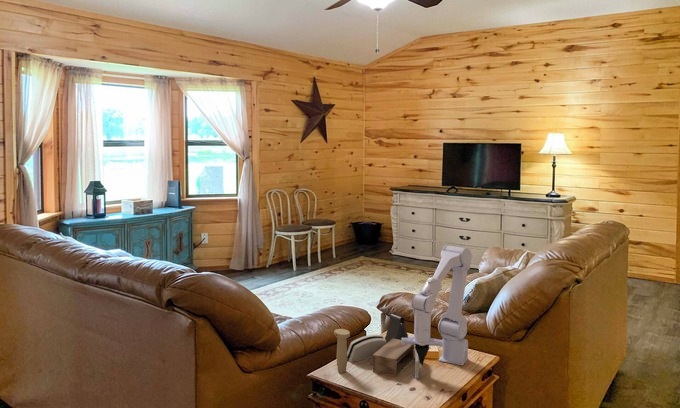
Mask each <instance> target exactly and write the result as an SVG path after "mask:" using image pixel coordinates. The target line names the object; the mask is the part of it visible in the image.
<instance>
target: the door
mask: <svg viewBox="0 0 680 408" xmlns="http://www.w3.org/2000/svg"><path fill="white" fill-rule="evenodd" d="M419 368H422V365H421V363H420V362H419V357H418V354H417V352H416V350H415V349H414V377H415V378H414V379H419Z"/></svg>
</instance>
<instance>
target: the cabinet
mask: <svg viewBox="0 0 680 408" xmlns="http://www.w3.org/2000/svg"><path fill="white" fill-rule="evenodd" d="M413 360H415V345H411V344H405V345H402V340H399V339H391V340H390V341H389V342H388V343H387V344H385V345H384V346H383V347H382V348H380V349H379V350H378V351H377V352H376V353H374V354H373V357H372V373H374V374H375V373H376V374H381V375H385V376H390V377H394V378H396V377H397V376H398V375H400V373H401V372H402V371H403V370H404V369H405V368H407V366H408V365H410V363H411V362H412V361H413Z"/></svg>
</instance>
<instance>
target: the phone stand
mask: <svg viewBox="0 0 680 408" xmlns="http://www.w3.org/2000/svg"><path fill="white" fill-rule="evenodd" d="M402 338H409V334H408V331H407V327H406V321H405V317H404V316H402V315H399V314H396V313H391V314H390V315H389V323H388V327H387V331H386V333H385V338H384V339H385V340H386V344H387V343H388V342H389V341H390V340H391V339H399V340H402Z"/></svg>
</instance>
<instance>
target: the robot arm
mask: <svg viewBox="0 0 680 408" xmlns="http://www.w3.org/2000/svg"><path fill="white" fill-rule="evenodd" d="M472 257H473V254H472V252H471V250H470V248H468V247H461V246H456V245H455V246H454V245H450V244H446V245H443V247H442V250H441V252H440V261H439V263H438V266H437V267H436V269H435V270H434V271H435V272H434V274H433V275H432V277H429V278H428V279H426V282H425V283H424V285H423V286H422V288H421V289H420V292H419V293H417V294H415V295H413V297H412V299H411V302H410V305H411V308H412V313H413V315H414V318H413V319H414V320H413V321H414V322H413V323H414V325H413V329H414V330H413V336H411V337H409V336H408V338H402V345H405V344H411V345H414V351H415V350H416V352H417V354H418V361H419V363H421V366H424V362H425V359H426V355H427V354H428V352H429V350H430V346H431V347H439V348H442V351H441V356H440V357H439V358H438V361H439V362H442V363H443V362H444V363H449V364H453V365H459V366H464V365H465V363H466V362H467V361H468V359H469V354H468V353H469V341H468V339H465V337H466V335H467V332H468V327H467V324H468V323H467V322H468V320H467V318H466V316H464V314H462V310H463V305H464V304H463V303H464V298H465V295H464V294H465V290H466V283H467V276H468V271H469V270H470V269H471V265H472V264H471V263H472ZM451 269H452V272H453V273H452V280H451V286H450V292H449V299H448V304H447V305H448V307H447V310H446V311H445V312H443V313H442V314H441V315H440V320H439V322H438V325H437V330H438V333H439V334H440V337H442V339H438V338H432V337H431V321H432V319H431V316H432V314H431V313H432V311H434V308H435V304H436V300H437V299H436V297H438V295H439V292H440V291H441V289H442V287H443V285H442V283H443V280H444V279H445V277H447V275H448V274H449V272H450V271H451Z"/></svg>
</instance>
